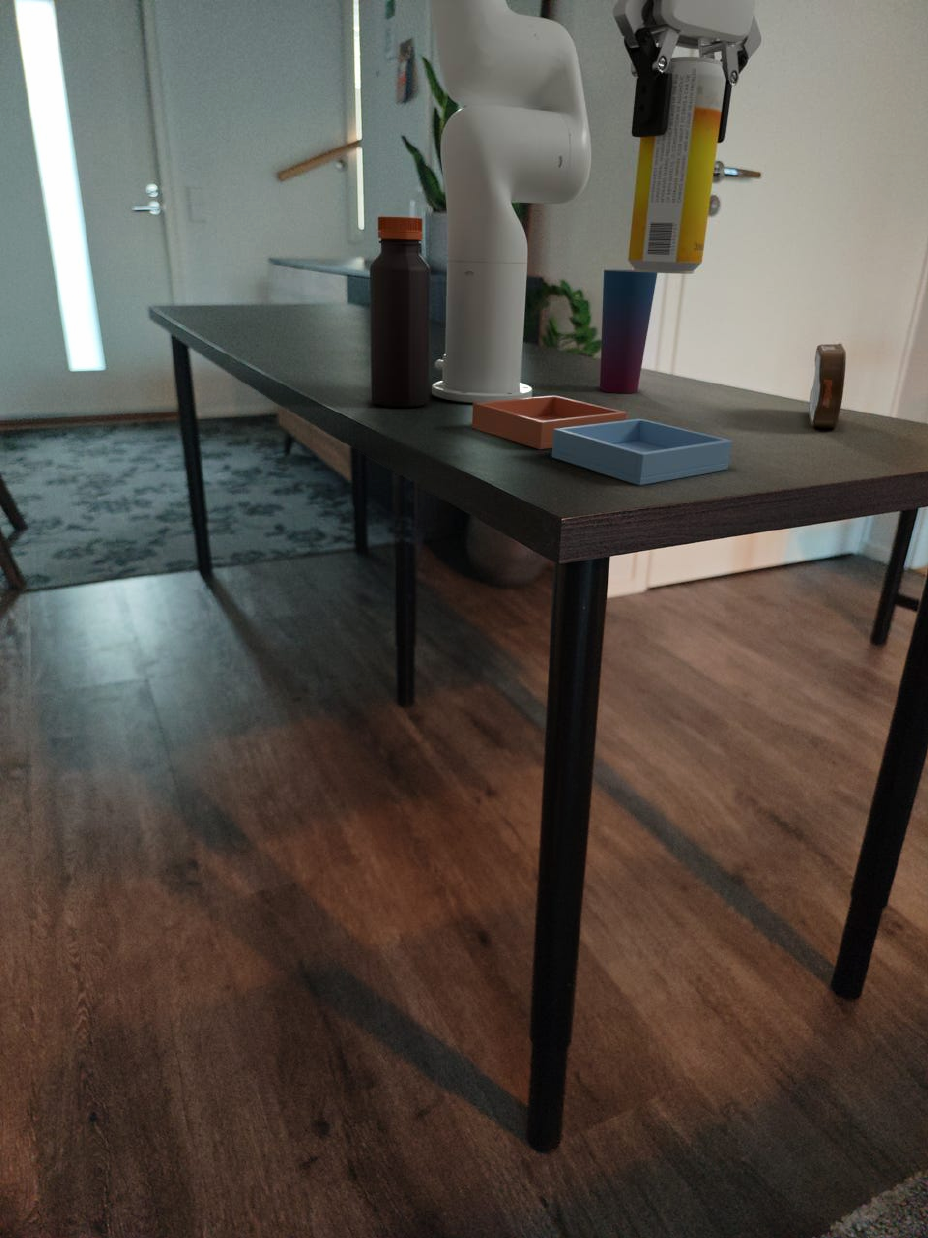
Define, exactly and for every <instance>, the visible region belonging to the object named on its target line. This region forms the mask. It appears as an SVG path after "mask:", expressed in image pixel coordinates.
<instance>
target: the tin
mask: <svg viewBox="0 0 928 1238" xmlns="http://www.w3.org/2000/svg"><path fill="white" fill-rule="evenodd" d="M846 354H847V353H846V350H845V347H844V346H843V345H842V343H841V342H839V343H838V344H837V343H836V344H835V343H834V344H829V343H828V344H826V343H825V344H819V345H817V346H816V350H815V356H814V376H813V382H812V386H811V389H810V394H809V395H810V397H809V408H808V409H809V410H808V411H809V421H810V425H811V427H813V428H818V429H819V428H820V429H833V430H836V429H837V428H838V424H839V420H840V419H839V418H840V414H841V408H842V402H843V394H844V386H845V377H846V376H845V375H846V367H847V366H846V359H847V355H846Z"/></svg>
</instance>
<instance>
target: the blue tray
mask: <svg viewBox="0 0 928 1238" xmlns="http://www.w3.org/2000/svg"><path fill="white" fill-rule="evenodd" d="M732 444H733V441H732V440H731V439H726V438H723V437H719V436H714V435H711V434H706V433H702V432H698V431H694V430H690V429H685V428H681V427H677V426H673V425H669V424H665V423H661V422H657V421H654V420H653V421H652V420H648V419H644V418H633V419H626V420H623V421H615V422H607V423H599V424H591V425H582V426H574V427H566V428H558V429H554V430H553V442H552V448H551V456H550V457H551V458H553V459H556V460H560V461H563V462H566V463H569V464H572V465H575V466H578V467H581V468H584V469H587V470H590V471H594V472H595V473H599V474H603V475H606V476H608V477H611V478H615V479H619V480H620V481H625V482H627V483H631V484H634V485H637V486H644V485H648V484H649V485H650V484H655V483H659V482H660V483H661V482H666V481H672V480H677V479H683V478H689V477H694V476H699V475H704V474H705V475H706V474H709V473H715V472H716V473H717V472H721V471H727V470H729V464H730V463H729V462H730V457H731V451H732Z"/></svg>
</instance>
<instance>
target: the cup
mask: <svg viewBox="0 0 928 1238" xmlns="http://www.w3.org/2000/svg"><path fill="white" fill-rule="evenodd" d="M657 278H658V273H652V272H636V271H633V269H624V268H623V269H622V268H621V269H619V268H615V269H614V268H613V269H612V268H610V269H609V268H607V269H606V268H605V269H603V286H602V287H603V288H602V289H603V290H602V318H601V345H600V346H601V347H600V373H599V374H600V375H599V390H600V391H602V392H606V393H612V394H613V393H614V394H634V393H637V392H638V389H639V383H640V377H641V372H642V365H643V359H644V354H645V349H646V343H647V342H646V341H647V336H648V332H649V331H648V330H649V325H650V319H651V313H652V308H653V302H654V295H655V292H656V291H655V290H656V285H657Z"/></svg>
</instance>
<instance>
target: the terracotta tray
mask: <svg viewBox="0 0 928 1238" xmlns="http://www.w3.org/2000/svg"><path fill="white" fill-rule="evenodd" d="M627 414H628V413H627V412H626V411H621V410H618V409H613V408H610V407H605V406H601V405H597V404H593V403H588V402H584V401H580V400H576V399H571V398H567V397H564V396H559V395H555V394H554V395H544V396H543V395H542V396H532V397H531V398H521V399H510V400H500V401H489V402H479V403H472V414H471V416H472V417H471V428H472V429H475V430H477V431H480V432H483V433H487V434H490V435H493V436H495V437H499V438H503V439H505V440H509V441H512V442H514V443H518V444H522V445H524V446H528V447H530V448H534V449H536V450H541V451H542V450H547V449H552V442H553V430H554V429H558V428H566V427H574V426H582V425H591V424H599V423H607V422H615V421H623V420H627V416H628V415H627Z"/></svg>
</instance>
